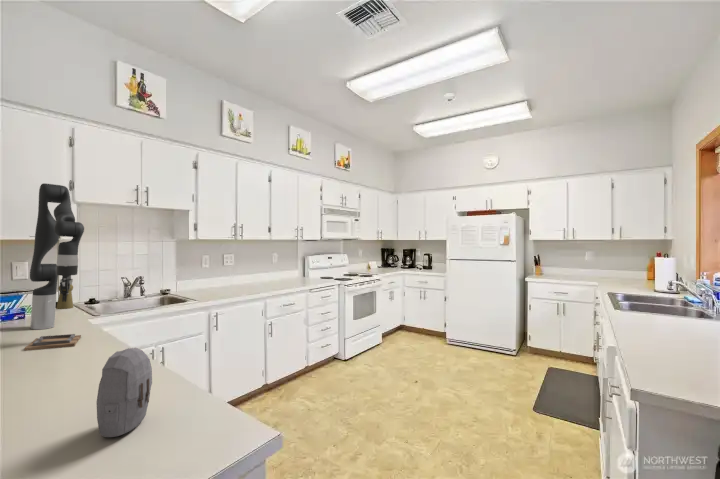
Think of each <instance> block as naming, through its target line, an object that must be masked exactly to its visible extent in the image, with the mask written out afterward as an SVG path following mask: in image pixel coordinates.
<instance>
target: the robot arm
mask: <svg viewBox="0 0 720 479" xmlns="http://www.w3.org/2000/svg"><path fill="white" fill-rule="evenodd" d="M70 194H71V193H70V190H69V188H68V187H67V186H65V185H61V184H53V183H41V184H40V186H39V190H38V206H37V207H38V208H37V209H38V212H37V220H36V226H35V233H34V245H33V246H34V247H33V254H32V259H31V264H30V270H29V279H30V281H31V282H33V283H34V282H35V283H36V282H37V283H38V282H47V283H45V285H43V286H40V287H37V288H34V289H33V290H32V298H31V310H30V312H31V313H30V330H45V329H50V328H54V327H55V322H56V321H55V320H56V307H57V289H58V278H59V276H62V277H61V278H60V279H59V286H60V291H59V294H60V293H61V295H63V297H62V302H63V301H64V300H65V302H66V298H67V295H68V294H69V289H70V286H71V285H73V281H74V279H73V278H72V276H76V275H78V273H79V272H78V271H79V270H78V268H79V245H80V241H81V240H82V236H83V234H84V233H85V226H84V224H83V223H81V222H77V221H76V218H75V215H74V213H73V210H72V203H71V202H72V201H71V196H70ZM49 203H53V204H58V205H57V206H56V207H55V208H54V210H53V215H52V213H51V212H50V209H49V205H48V204H49ZM60 237H63V238H64V237H65V238H66V237H68V238H72V239H71V240H68V241H62V242H61V241H60V242H59V240H60ZM57 244H58V246H57V258H56V263H42V261H43V260H44V257H45V256H46V255H47V254H48V252H50V251H51V250H52V249H53V248H54V247H55V246H56V245H57ZM68 286H69V287H68ZM64 289H65V290H66V291H63V290H64ZM64 296H65V297H64ZM64 298H65V299H64Z"/></svg>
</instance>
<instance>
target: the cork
mask: <svg viewBox="0 0 720 479" xmlns="http://www.w3.org/2000/svg"><path fill="white" fill-rule="evenodd" d="M68 287H69V286H68ZM57 289H58V291H59V294H58V300H57V302H56V308H55V310H69V309H73V308H74V302H73V301H74V300H73V294H72V293H73V292H72V291H73V289H74V284H72V285H71V286H70V289H69V294H68V295H67V298H66V302H65V300H64V301H63V302H62V297H63V295H61V293H60V285H58V287H57ZM63 291H66V290H65V289H64V290H63ZM64 297H65V296H64ZM64 299H65V298H64Z"/></svg>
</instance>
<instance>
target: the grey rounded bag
mask: <svg viewBox="0 0 720 479" xmlns="http://www.w3.org/2000/svg"><path fill="white" fill-rule="evenodd" d="M152 369H153V368H152V364H151V361H150V357H148V355H147V353H146V352H145V351H144V350H143V349H140V348H137V347H128V348H125V349H123V350H117V351H115V352H114V353H113V354H112V355H111V356H109V357H108V359H107V361H106V362H105V364H104V366H103V368H102V370H101V371H102V372H101V378H100V381H99V384H98V389H97V398H96V419H97V425H98V432H99V434H100V435H101V436H102V437H104V438H114V437H119V436H122V435H125V434H127V433H128V432H129V433H130V431H133V430H134V429H135V428H136V427H137V426H139V425H140V424H141V423H142V421H143V420H144V419H145V418H146V416H147V410H148V406H149V403H150V397H151V388H152V385H153V370H152Z"/></svg>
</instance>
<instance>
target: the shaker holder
mask: <svg viewBox="0 0 720 479" xmlns="http://www.w3.org/2000/svg"><path fill="white" fill-rule="evenodd" d="M81 338H82V335H81V334H79V335H78V334H75V333H70V334H55V335H54V334H53V335H42V336H39V337H37V338H35V339H34V340H33V341H31V342H30V343H28V345H26V346H25V347H24V351H25V352H27V351H36V350H51V349H59V348H60V349H61V348H72V347H75V346H76V345H77V344H78V342H79V341H80V340H81Z"/></svg>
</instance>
